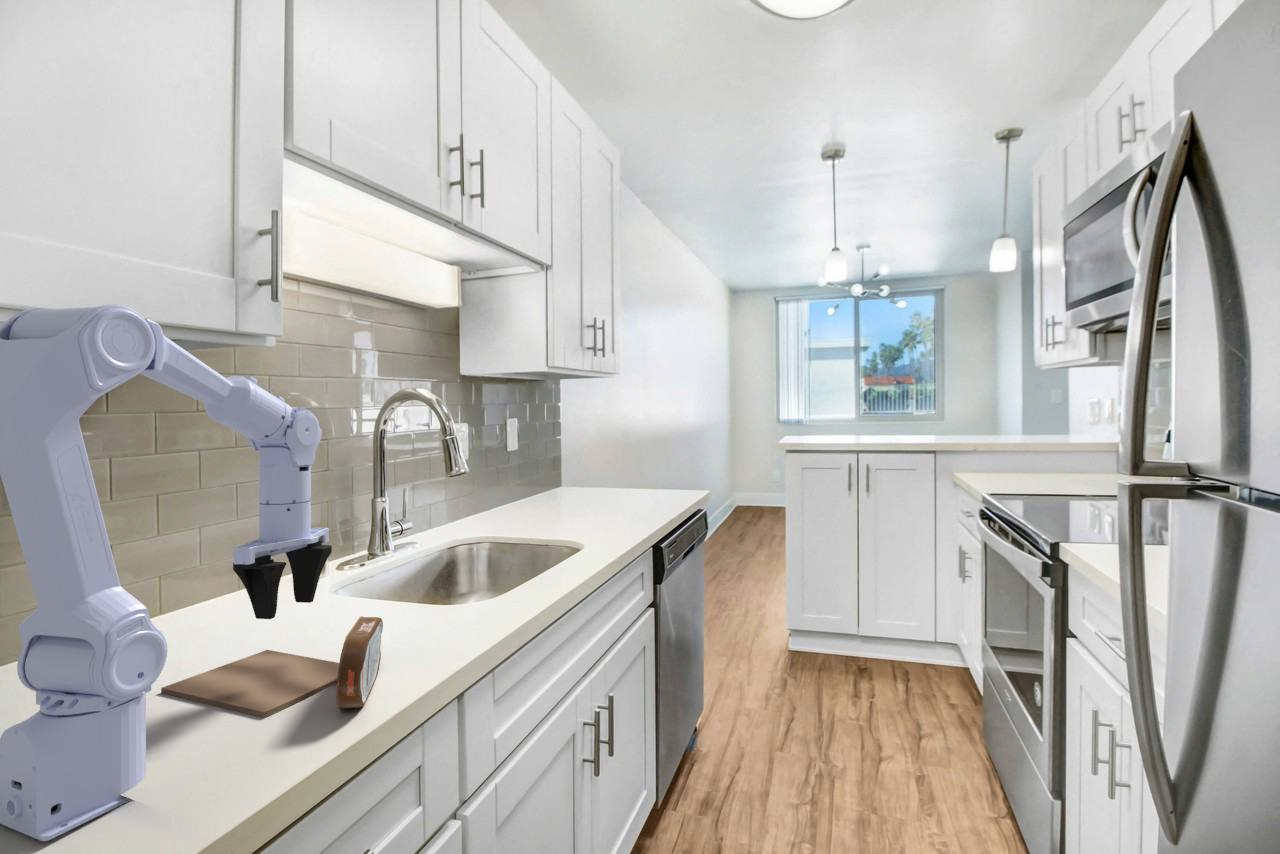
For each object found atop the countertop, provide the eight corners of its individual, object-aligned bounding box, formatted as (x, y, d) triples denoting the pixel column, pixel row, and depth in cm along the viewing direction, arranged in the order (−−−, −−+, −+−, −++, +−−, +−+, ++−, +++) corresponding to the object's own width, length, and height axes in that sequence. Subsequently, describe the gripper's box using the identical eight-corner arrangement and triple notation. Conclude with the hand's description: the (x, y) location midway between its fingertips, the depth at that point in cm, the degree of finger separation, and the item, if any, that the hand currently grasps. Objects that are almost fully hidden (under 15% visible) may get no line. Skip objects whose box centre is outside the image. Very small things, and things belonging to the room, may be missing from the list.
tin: (360, 671, 83) (360, 608, 83) (385, 669, 84) (385, 606, 84) (333, 723, 68) (333, 646, 68) (364, 720, 69) (364, 644, 69)
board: (265, 717, 70) (265, 712, 70) (161, 692, 76) (161, 687, 76) (363, 671, 83) (363, 667, 83) (267, 653, 89) (267, 649, 89)
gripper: (272, 510, 71) (272, 629, 71) (349, 496, 85) (349, 595, 85) (217, 509, 72) (217, 626, 72) (302, 495, 86) (302, 593, 86)
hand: (285, 609), depth 79 cm, fingers open, 6 cm apart
